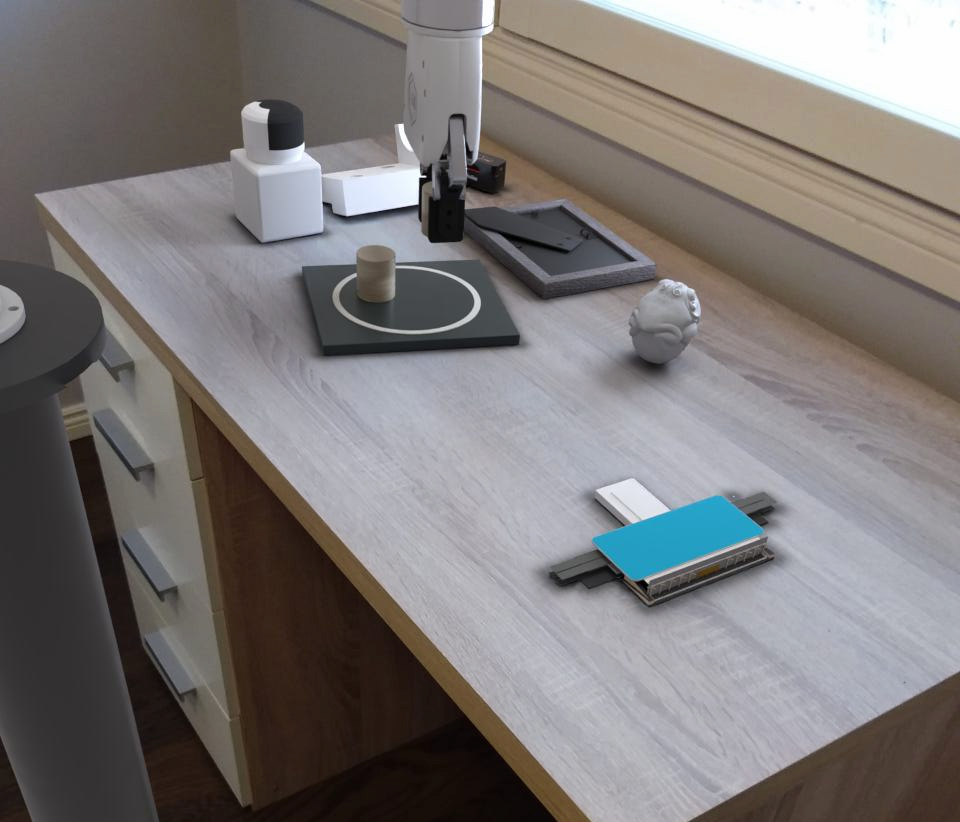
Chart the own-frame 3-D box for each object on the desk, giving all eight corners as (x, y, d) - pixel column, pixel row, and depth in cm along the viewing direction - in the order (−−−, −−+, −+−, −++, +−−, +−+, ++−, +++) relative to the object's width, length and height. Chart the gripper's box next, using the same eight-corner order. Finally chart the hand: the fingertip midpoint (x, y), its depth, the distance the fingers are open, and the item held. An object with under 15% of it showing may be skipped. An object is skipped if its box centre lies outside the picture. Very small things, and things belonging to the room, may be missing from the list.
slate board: (323, 355, 93) (322, 344, 92) (302, 275, 104) (301, 264, 103) (519, 344, 97) (520, 333, 96) (478, 268, 108) (479, 257, 107)
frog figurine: (705, 358, 97) (722, 286, 92) (661, 384, 93) (677, 310, 89) (651, 334, 100) (665, 263, 95) (607, 358, 96) (619, 285, 91)
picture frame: (460, 227, 115) (543, 299, 104) (461, 209, 114) (545, 279, 102) (564, 212, 120) (654, 278, 109) (566, 194, 119) (657, 259, 108)
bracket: (421, 193, 124) (414, 121, 120) (451, 198, 118) (445, 124, 115) (319, 209, 118) (309, 135, 114) (346, 216, 113) (336, 138, 109)
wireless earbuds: (456, 173, 127) (457, 144, 124) (506, 189, 124) (508, 160, 122) (433, 183, 124) (434, 155, 121) (484, 200, 121) (486, 171, 119)
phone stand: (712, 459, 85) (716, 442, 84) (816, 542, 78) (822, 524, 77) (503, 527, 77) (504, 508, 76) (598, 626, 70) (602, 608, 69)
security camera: (296, 208, 116) (290, 90, 108) (324, 233, 112) (320, 112, 103) (235, 218, 113) (223, 97, 105) (261, 244, 109) (251, 120, 100)
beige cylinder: (425, 241, 96) (426, 196, 93) (417, 224, 98) (418, 180, 95) (464, 239, 96) (466, 195, 94) (455, 223, 99) (457, 179, 96)
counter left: (360, 303, 98) (359, 262, 95) (354, 286, 101) (353, 245, 98) (398, 302, 99) (398, 260, 96) (391, 284, 101) (391, 244, 99)
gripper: (383, -22, 89) (384, 197, 102) (422, 34, 78) (417, 273, 91) (469, -21, 91) (460, 195, 104) (519, 34, 79) (501, 269, 92)
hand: (440, 229), depth 97 cm, fingers closed on beige cylinder, 3 cm apart
